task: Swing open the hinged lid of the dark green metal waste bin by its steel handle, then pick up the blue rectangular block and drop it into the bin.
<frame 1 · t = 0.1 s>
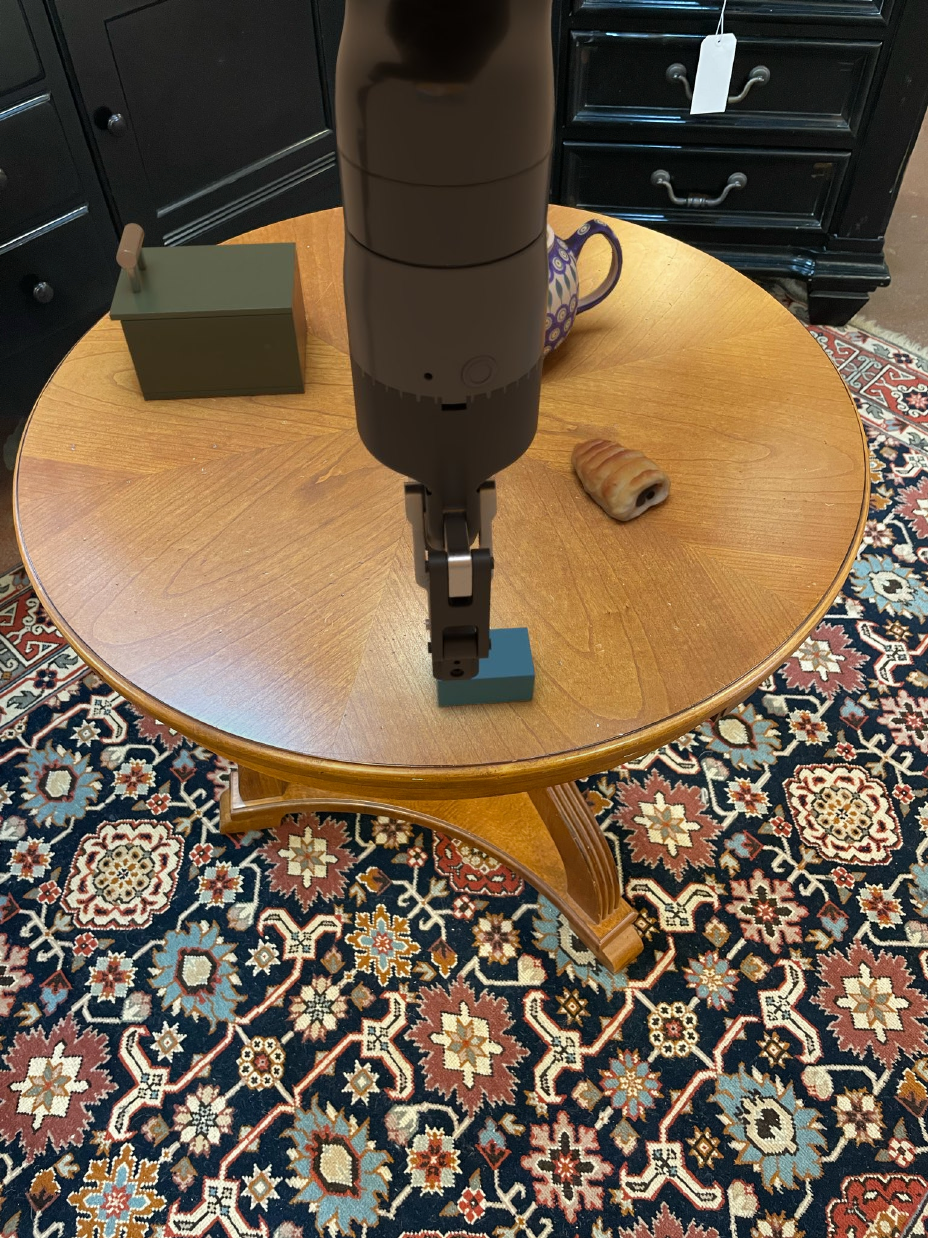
hand: (448, 607, 49), 21 cm above the table, tool pointing down, fingers open, 8 cm apart
blue rectangular block: (482, 679, 72), on the table
pastry: (616, 491, 86), on the table
teapot: (500, 345, 100), on the table
bin: (229, 361, 98), on the table
lid: (202, 258, 89), point 11 cm above the table, hinge at 0.0°
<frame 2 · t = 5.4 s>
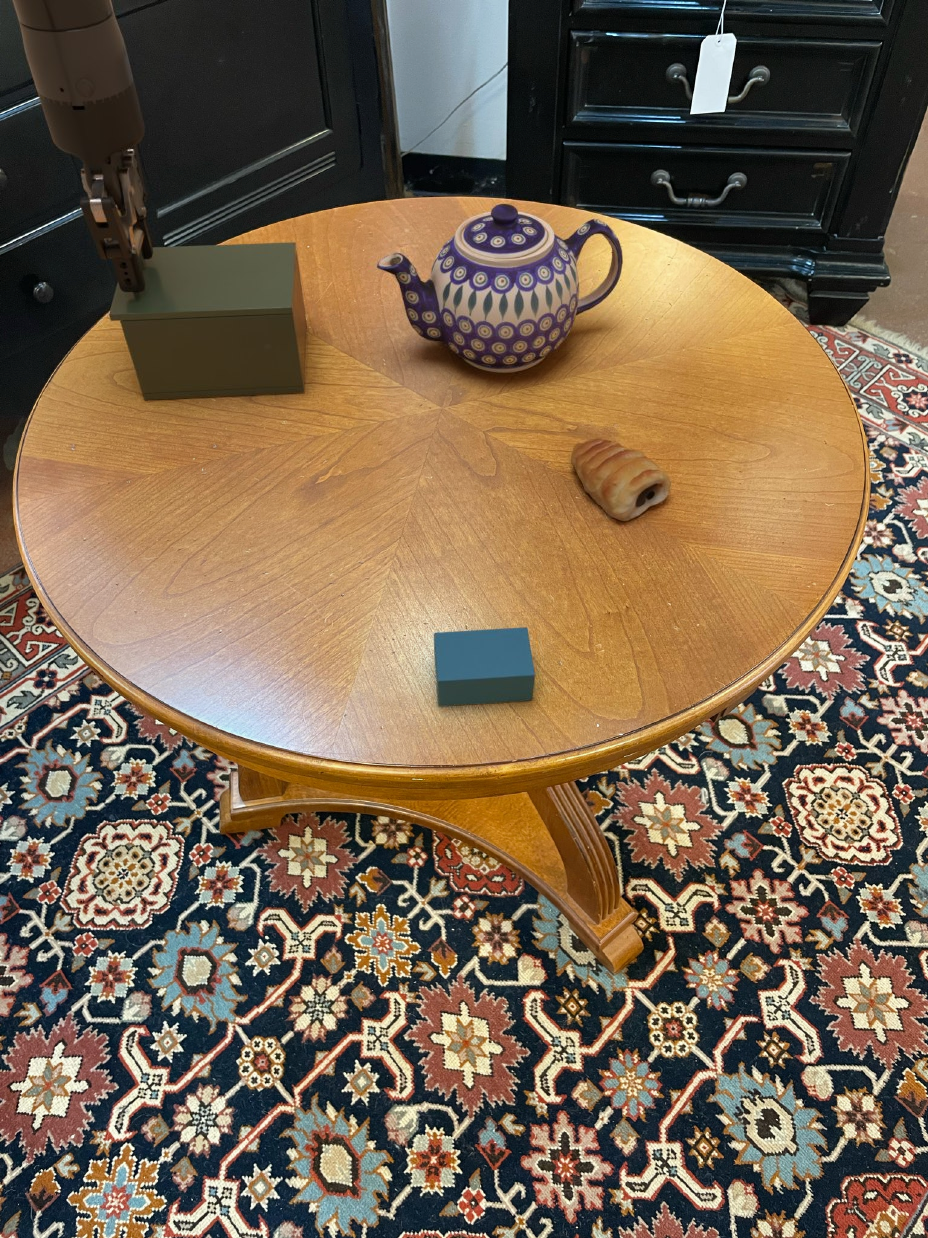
hand: (137, 272, 89), 10 cm above the table, tool pointing down, fingers closed on lid, 5 cm apart
lid: (202, 259, 89), point 11 cm above the table, hinge at -0.1°, touching gripper
everything else where it was.
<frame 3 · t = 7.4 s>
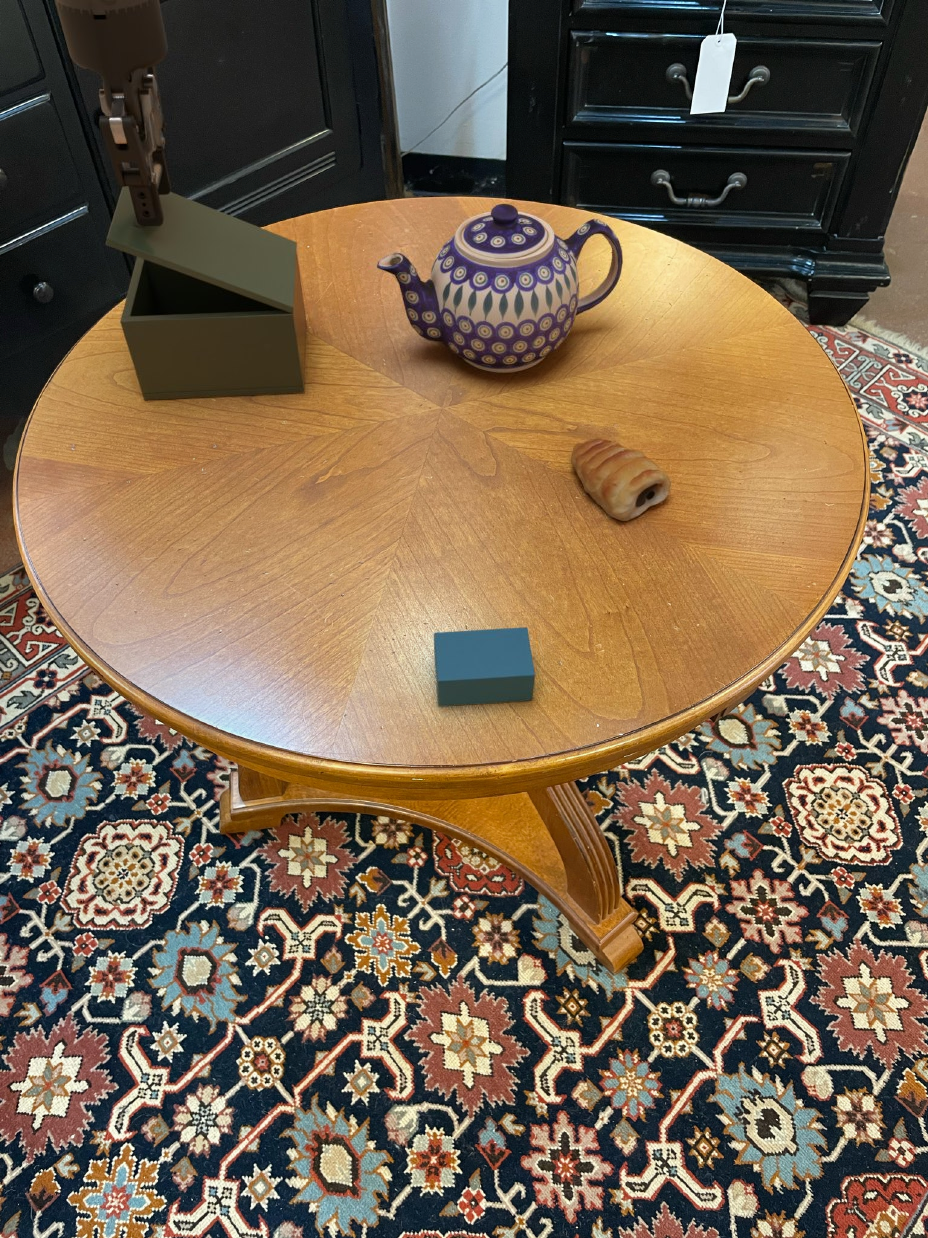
hand: (155, 207, 85), 16 cm above the table, tool pointing down, fingers closed on lid, 5 cm apart
lid: (214, 223, 86), point 15 cm above the table, hinge at 26.2°, touching gripper
everything else where it was.
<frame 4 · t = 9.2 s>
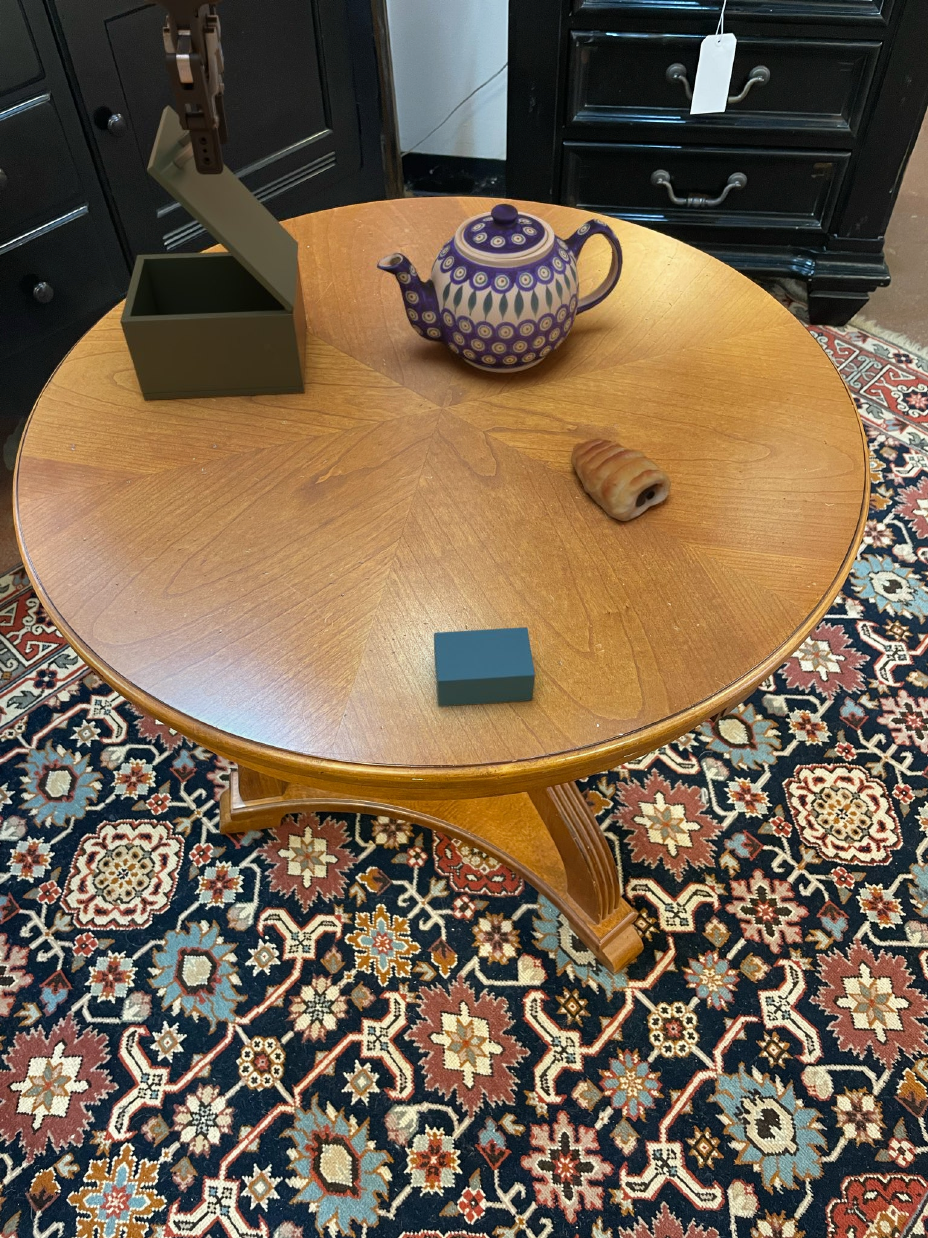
hand: (213, 156, 82), 21 cm above the table, tool pointing down, fingers closed on lid, 5 cm apart
lid: (247, 196, 85), point 17 cm above the table, hinge at 53.9°, touching gripper
everything else where it was.
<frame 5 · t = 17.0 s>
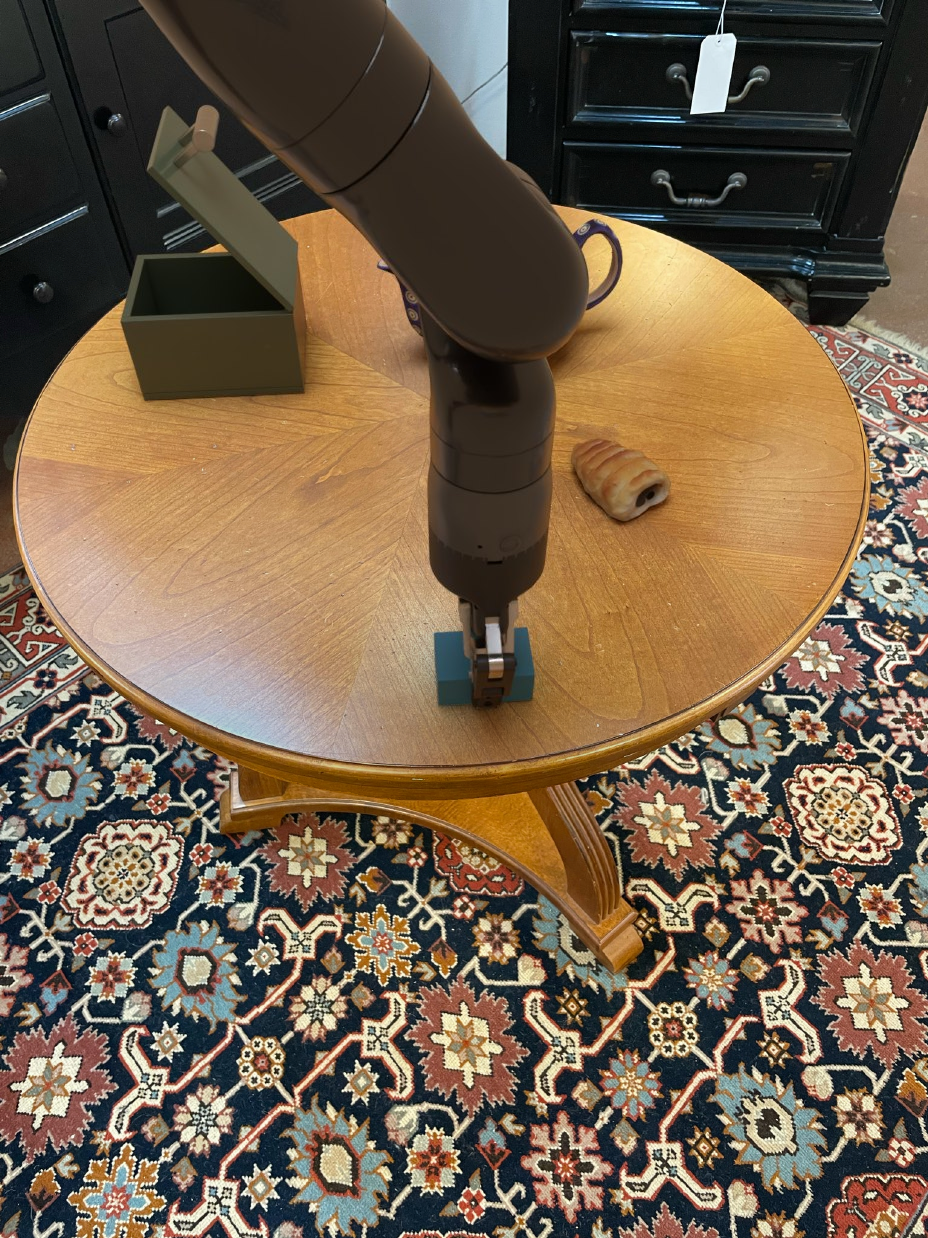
hand: (482, 675, 72), 1 cm above the table, tool pointing down, fingers closed on blue rectangular block, 4 cm apart
blue rectangular block: (482, 679, 72), on the table, touching gripper
lid: (247, 196, 85), point 17 cm above the table, hinge at 53.7°
everything else where it was.
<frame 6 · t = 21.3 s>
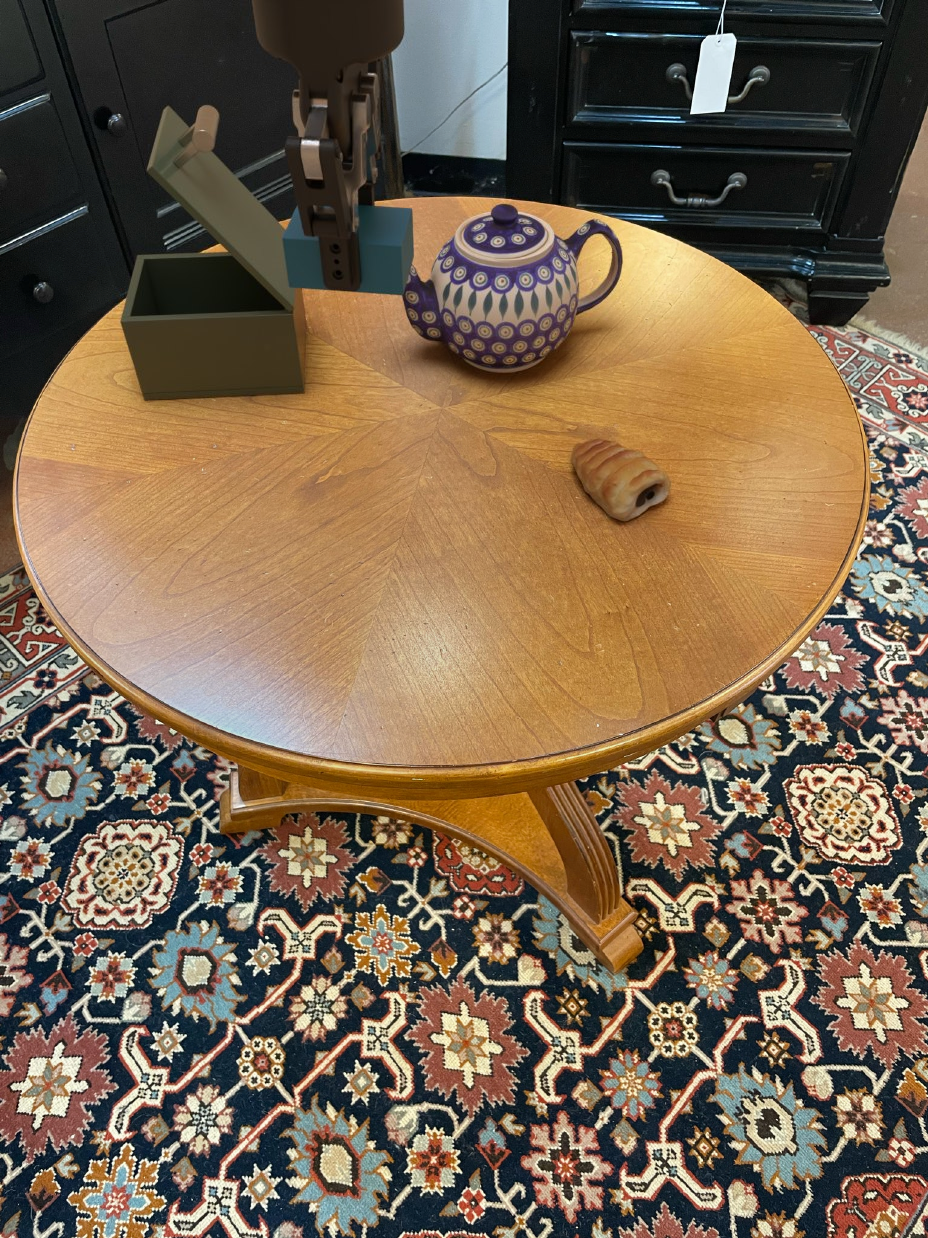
hand: (351, 264, 58), 27 cm above the table, tool pointing down, fingers closed on blue rectangular block, 4 cm apart
blue rectangular block: (352, 272, 59), point 27 cm above the table, touching gripper
everything else where it was.
when the fingers open (23 cm above the table, at t = 26.0 s): blue rectangular block drops 22 cm, resting on bin.
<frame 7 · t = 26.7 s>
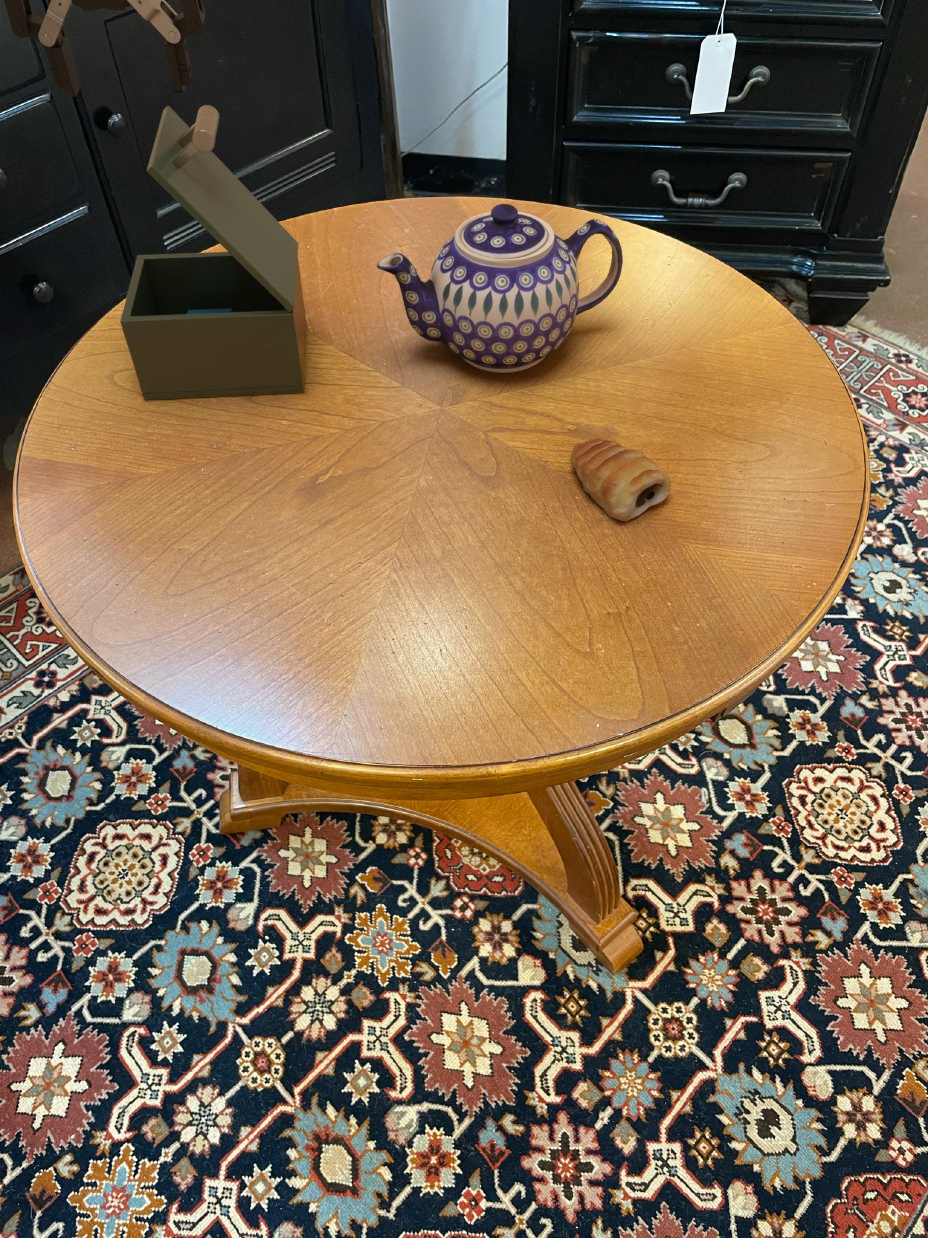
hand: (127, 91, 77), 26 cm above the table, tool pointing down, fingers open, 8 cm apart
blue rectangular block: (212, 356, 97), point 1 cm above the table, touching bin
everything else where it was.
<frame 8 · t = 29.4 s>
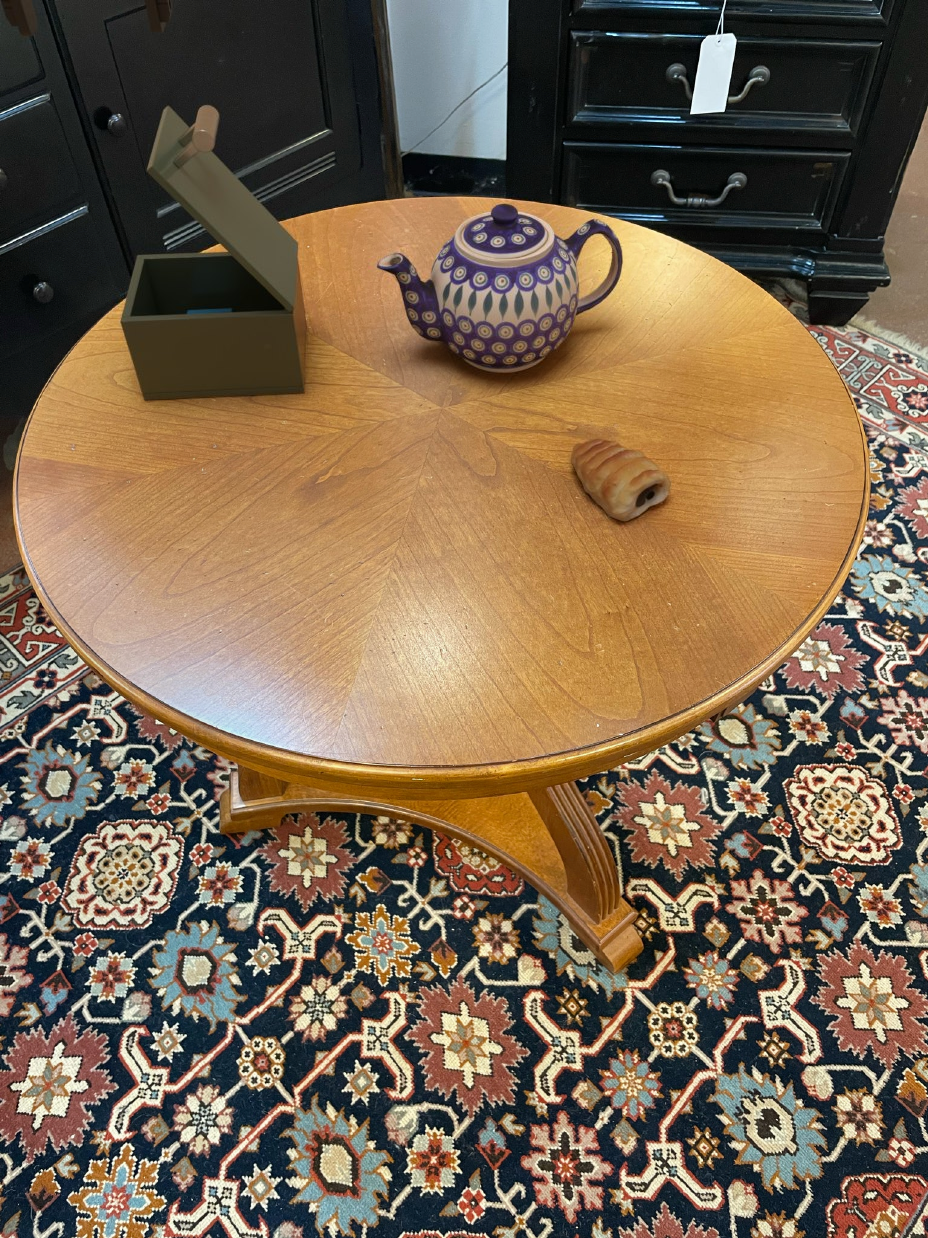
hand: (94, 30, 64), 34 cm above the table, tool pointing down, fingers open, 8 cm apart
nothing on the table moved.
at the end: lid at +54° (first picture: +0°); blue rectangular block inside the target area in the bin (1.5 cm from its centre), point 0.8 cm above the bin's base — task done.
